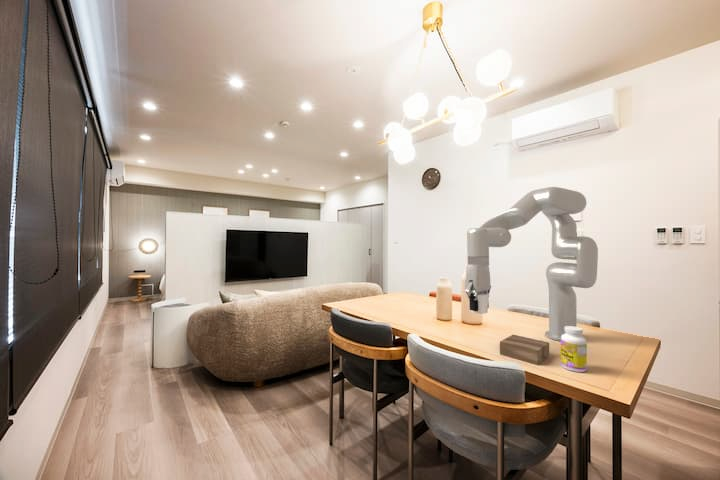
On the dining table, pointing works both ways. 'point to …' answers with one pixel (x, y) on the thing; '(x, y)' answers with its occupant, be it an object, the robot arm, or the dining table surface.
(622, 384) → the dining table surface
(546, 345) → the walnut block
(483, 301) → the white cup
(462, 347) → the dining table surface
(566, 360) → the supplement bottle
